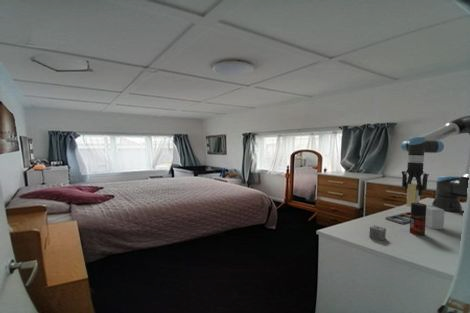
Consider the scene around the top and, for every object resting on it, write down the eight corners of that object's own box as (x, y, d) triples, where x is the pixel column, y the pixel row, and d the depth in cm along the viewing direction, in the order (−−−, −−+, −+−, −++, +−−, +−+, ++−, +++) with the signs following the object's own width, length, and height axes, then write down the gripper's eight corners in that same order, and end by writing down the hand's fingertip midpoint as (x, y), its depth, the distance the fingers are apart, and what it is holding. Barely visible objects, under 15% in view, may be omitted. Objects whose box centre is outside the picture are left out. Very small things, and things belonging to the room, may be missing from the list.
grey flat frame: (408, 213, 142) (408, 211, 142) (425, 218, 134) (425, 215, 134) (385, 219, 132) (385, 216, 132) (402, 224, 124) (402, 221, 124)
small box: (443, 229, 117) (445, 210, 116) (431, 228, 118) (432, 209, 117) (433, 224, 124) (434, 205, 124) (422, 223, 125) (423, 205, 125)
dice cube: (369, 237, 106) (369, 227, 106) (374, 234, 109) (374, 225, 109) (380, 241, 102) (381, 230, 102) (385, 238, 105) (385, 228, 105)
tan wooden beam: (410, 205, 139) (411, 183, 138) (418, 207, 135) (420, 184, 134) (406, 205, 137) (407, 183, 136) (414, 207, 133) (416, 184, 132)
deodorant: (407, 231, 113) (408, 203, 112) (413, 230, 115) (415, 202, 114) (420, 236, 108) (422, 206, 107) (427, 234, 110) (429, 205, 109)
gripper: (396, 161, 140) (394, 197, 142) (429, 163, 125) (426, 204, 126) (403, 161, 144) (400, 196, 145) (436, 163, 128) (433, 202, 129)
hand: (413, 199), depth 136 cm, fingers closed on tan wooden beam, 4 cm apart
